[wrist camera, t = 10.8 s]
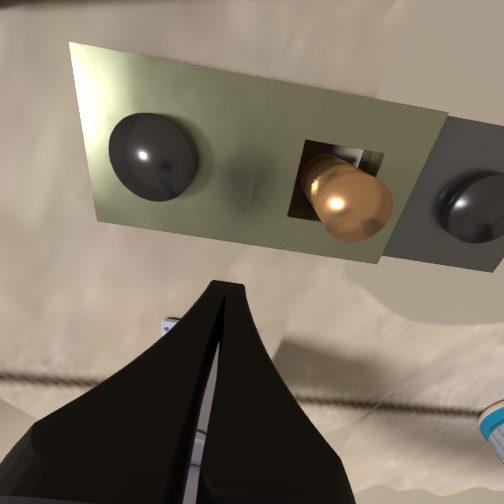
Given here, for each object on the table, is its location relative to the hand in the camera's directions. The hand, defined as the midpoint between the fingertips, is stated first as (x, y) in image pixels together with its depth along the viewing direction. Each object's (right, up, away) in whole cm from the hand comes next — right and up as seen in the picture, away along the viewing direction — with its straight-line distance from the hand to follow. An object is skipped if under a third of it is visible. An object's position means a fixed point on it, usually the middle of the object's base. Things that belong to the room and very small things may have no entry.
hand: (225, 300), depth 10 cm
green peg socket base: (+6, +7, +7) cm, 11 cm away
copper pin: (+6, +7, +7) cm, 11 cm away
